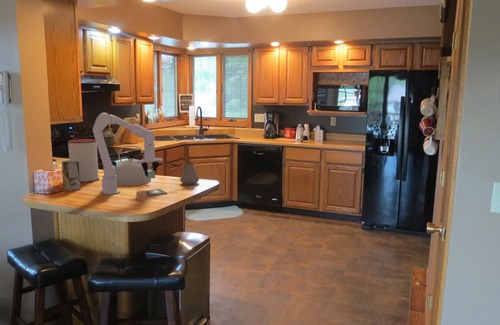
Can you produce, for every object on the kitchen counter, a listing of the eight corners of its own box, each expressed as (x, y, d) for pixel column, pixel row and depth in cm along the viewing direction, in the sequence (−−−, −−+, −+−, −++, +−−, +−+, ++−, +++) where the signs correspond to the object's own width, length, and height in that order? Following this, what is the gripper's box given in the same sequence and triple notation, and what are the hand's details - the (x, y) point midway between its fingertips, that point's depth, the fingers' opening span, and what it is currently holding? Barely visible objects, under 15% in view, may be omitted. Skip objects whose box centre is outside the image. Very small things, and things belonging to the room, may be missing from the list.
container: (67, 179, 269) (64, 140, 265) (95, 176, 278) (93, 138, 274) (73, 184, 255) (70, 143, 251) (102, 180, 264) (100, 141, 260)
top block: (136, 198, 223) (136, 191, 222) (144, 197, 225) (143, 190, 224) (139, 200, 219) (139, 192, 219) (146, 199, 222) (146, 191, 221)
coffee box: (80, 189, 242) (79, 161, 239) (69, 191, 238) (67, 163, 235) (73, 186, 248) (71, 159, 246) (62, 188, 244) (60, 161, 241)
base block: (145, 177, 242) (145, 170, 241) (152, 176, 244) (152, 169, 243) (148, 178, 238) (148, 171, 238) (155, 177, 241) (154, 171, 240)
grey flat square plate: (141, 192, 236) (141, 191, 236) (159, 189, 242) (159, 188, 242) (148, 196, 227) (148, 195, 227) (167, 193, 233) (167, 192, 233)
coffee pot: (192, 180, 266) (191, 157, 263) (202, 183, 257) (202, 159, 255) (162, 185, 252) (161, 161, 249) (172, 189, 243) (171, 163, 241)
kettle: (160, 178, 273) (159, 143, 269) (145, 186, 251) (144, 148, 247) (124, 176, 277) (122, 142, 273) (106, 184, 255) (104, 147, 251)
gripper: (139, 153, 231) (140, 177, 233) (164, 151, 239) (165, 175, 242) (135, 152, 237) (136, 175, 239) (159, 150, 245) (160, 173, 247)
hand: (150, 175), depth 241 cm, fingers closed on base block, 4 cm apart
